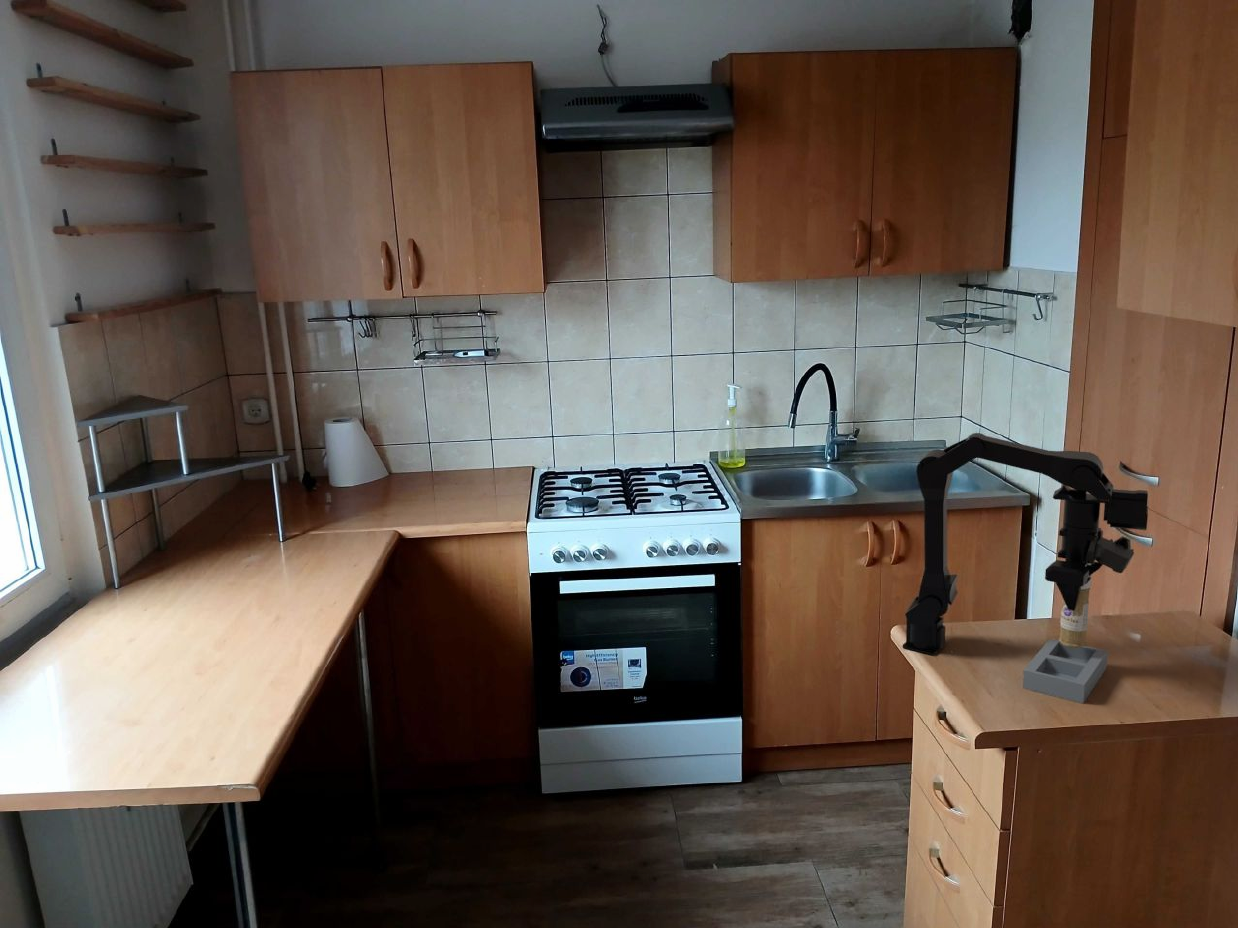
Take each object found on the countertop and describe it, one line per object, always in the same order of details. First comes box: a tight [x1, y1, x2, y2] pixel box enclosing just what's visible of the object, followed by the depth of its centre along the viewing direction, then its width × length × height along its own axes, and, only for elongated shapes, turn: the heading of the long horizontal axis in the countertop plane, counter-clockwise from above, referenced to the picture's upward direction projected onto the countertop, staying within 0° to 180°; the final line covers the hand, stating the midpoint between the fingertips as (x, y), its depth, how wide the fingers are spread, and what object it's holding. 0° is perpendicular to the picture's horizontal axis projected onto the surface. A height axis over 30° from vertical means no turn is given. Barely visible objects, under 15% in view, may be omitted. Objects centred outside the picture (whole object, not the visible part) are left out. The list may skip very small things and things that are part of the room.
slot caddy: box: [1022, 638, 1108, 704], centre depth 167 cm, size 10×16×4 cm, turn 140°
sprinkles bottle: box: [1058, 575, 1092, 648], centre depth 168 cm, size 5×5×13 cm
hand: (1075, 605), depth 168 cm, fingers closed on sprinkles bottle, 4 cm apart
